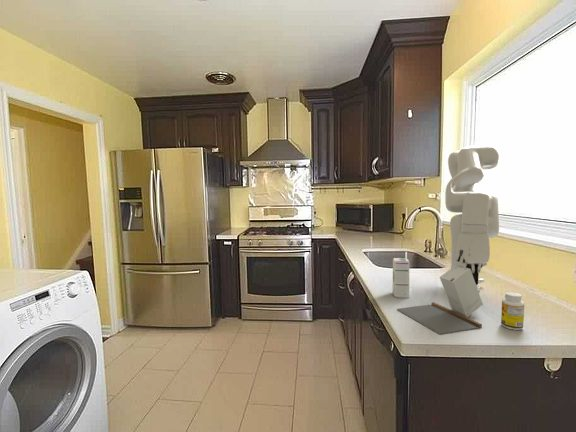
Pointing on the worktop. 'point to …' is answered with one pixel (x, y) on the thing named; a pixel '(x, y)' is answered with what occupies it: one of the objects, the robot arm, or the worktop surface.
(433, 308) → the mat
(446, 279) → the skincare box
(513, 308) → the supplement bottle
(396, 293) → the syrup box
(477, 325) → the rail
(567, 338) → the worktop surface
